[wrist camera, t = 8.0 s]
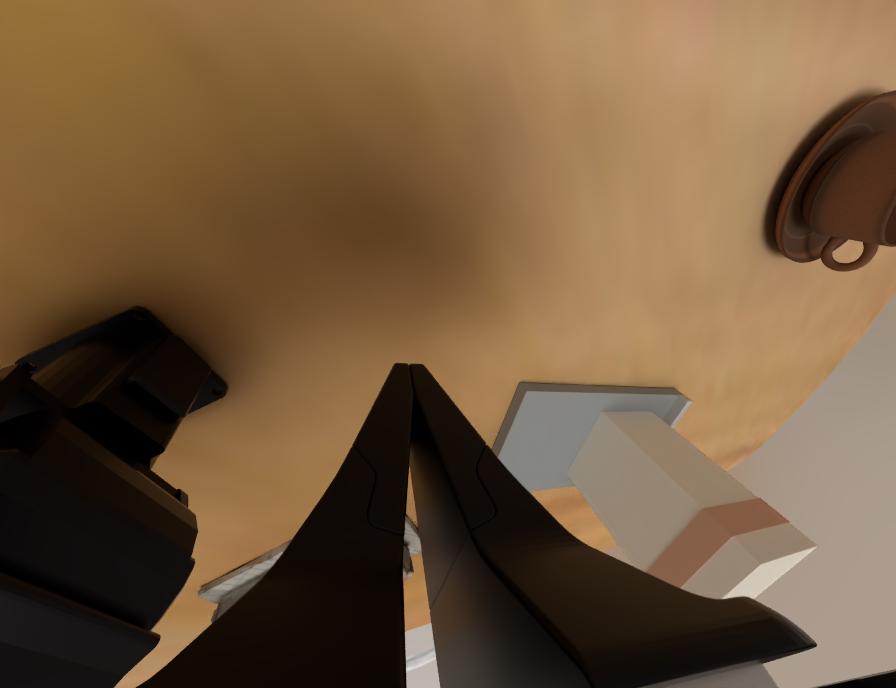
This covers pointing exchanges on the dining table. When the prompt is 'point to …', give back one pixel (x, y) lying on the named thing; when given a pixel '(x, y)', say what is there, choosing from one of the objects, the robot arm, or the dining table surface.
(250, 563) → the packaged product
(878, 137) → the cup and saucer
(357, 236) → the dining table surface
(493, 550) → the robot arm
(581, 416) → the podium
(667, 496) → the carton
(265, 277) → the dining table surface
